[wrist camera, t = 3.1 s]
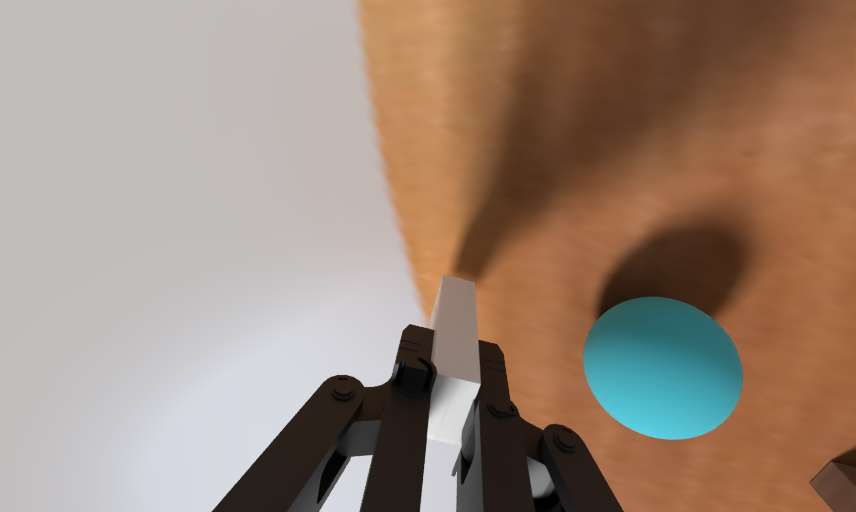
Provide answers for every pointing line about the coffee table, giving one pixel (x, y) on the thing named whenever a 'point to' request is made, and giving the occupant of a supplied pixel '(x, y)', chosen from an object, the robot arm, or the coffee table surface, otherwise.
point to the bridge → (837, 486)
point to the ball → (663, 368)
